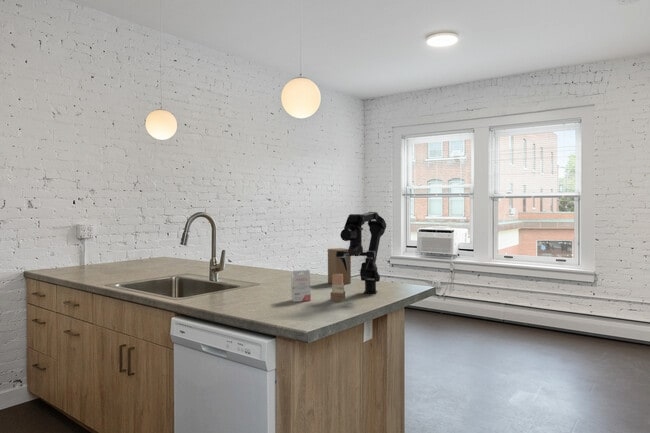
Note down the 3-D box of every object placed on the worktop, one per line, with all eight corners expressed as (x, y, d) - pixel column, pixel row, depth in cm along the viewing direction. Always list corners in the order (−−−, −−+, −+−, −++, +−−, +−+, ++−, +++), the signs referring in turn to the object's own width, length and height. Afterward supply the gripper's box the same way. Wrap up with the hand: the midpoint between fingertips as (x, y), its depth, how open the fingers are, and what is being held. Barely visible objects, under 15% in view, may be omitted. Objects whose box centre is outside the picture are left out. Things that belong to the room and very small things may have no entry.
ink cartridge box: (308, 298, 227) (308, 268, 226) (310, 300, 222) (310, 270, 221) (291, 299, 224) (290, 269, 224) (293, 301, 219) (292, 270, 219)
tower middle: (333, 291, 226) (333, 282, 226) (344, 291, 225) (344, 283, 225) (332, 292, 221) (332, 284, 221) (342, 293, 220) (342, 284, 220)
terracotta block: (333, 282, 225) (333, 273, 225) (343, 283, 225) (343, 273, 225) (332, 284, 221) (332, 275, 221) (341, 284, 220) (341, 275, 220)
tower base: (333, 298, 227) (333, 290, 226) (345, 299, 225) (345, 291, 225) (330, 301, 221) (330, 293, 221) (343, 301, 219) (342, 293, 219)
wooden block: (351, 283, 270) (350, 249, 269) (336, 285, 265) (336, 250, 264) (341, 281, 278) (341, 247, 278) (327, 282, 273) (327, 248, 273)
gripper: (333, 240, 221) (333, 273, 222) (372, 241, 217) (372, 274, 217) (338, 239, 232) (338, 270, 233) (375, 239, 228) (375, 271, 228)
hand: (355, 271), depth 228 cm, fingers open, 9 cm apart
